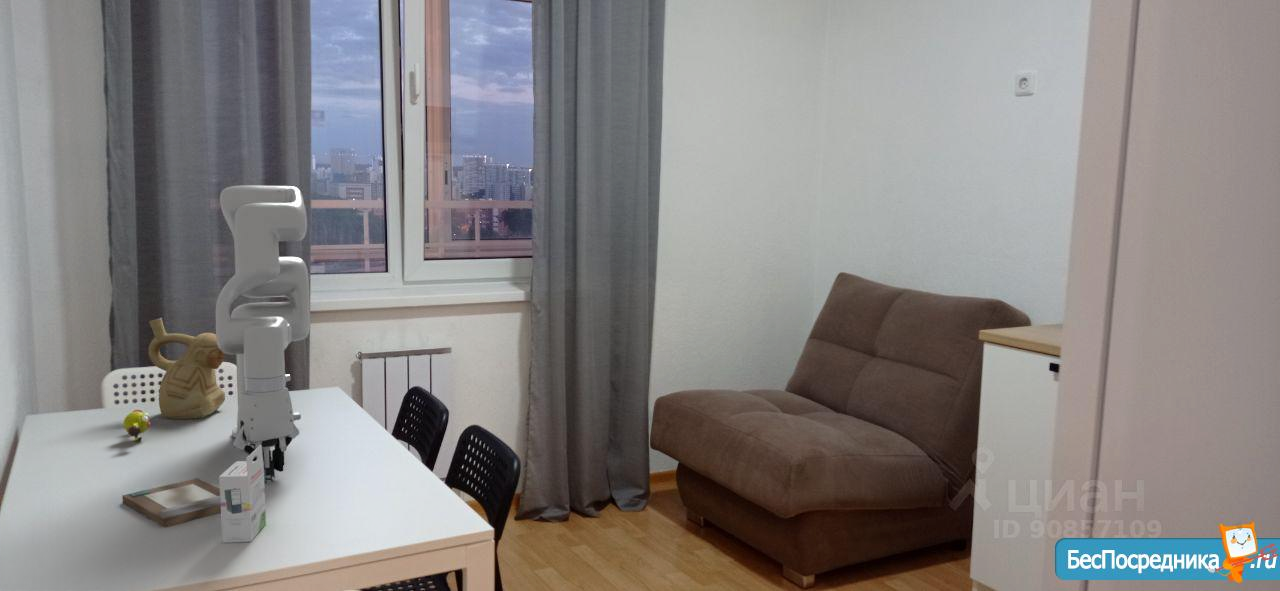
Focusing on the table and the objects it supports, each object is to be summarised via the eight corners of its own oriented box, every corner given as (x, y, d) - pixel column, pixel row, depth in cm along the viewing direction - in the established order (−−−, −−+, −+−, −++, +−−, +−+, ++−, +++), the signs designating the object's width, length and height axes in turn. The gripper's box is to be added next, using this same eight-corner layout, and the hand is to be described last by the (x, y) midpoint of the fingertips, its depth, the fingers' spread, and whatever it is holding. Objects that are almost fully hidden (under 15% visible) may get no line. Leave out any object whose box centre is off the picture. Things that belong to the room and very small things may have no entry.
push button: (282, 483, 186) (281, 435, 185) (254, 487, 184) (252, 438, 183) (279, 474, 192) (277, 427, 191) (251, 477, 190) (249, 430, 189)
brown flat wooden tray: (198, 485, 184) (197, 472, 184) (241, 506, 173) (241, 492, 173) (122, 503, 174) (122, 489, 174) (164, 527, 162) (163, 512, 162)
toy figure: (150, 449, 208) (148, 419, 208) (122, 451, 206) (120, 422, 205) (152, 429, 224) (151, 402, 224) (126, 431, 222) (125, 404, 221)
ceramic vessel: (212, 422, 231) (208, 324, 228) (134, 421, 232) (129, 322, 228) (242, 406, 248) (238, 314, 245) (169, 405, 248) (165, 313, 245)
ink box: (238, 524, 164) (234, 443, 162) (266, 524, 164) (264, 443, 163) (220, 543, 155) (216, 458, 154) (250, 543, 156) (247, 458, 154)
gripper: (293, 375, 195) (296, 460, 197) (215, 387, 182) (219, 478, 184) (312, 380, 190) (315, 467, 192) (233, 393, 177) (237, 486, 179)
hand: (268, 471), depth 188 cm, fingers closed on push button, 3 cm apart
